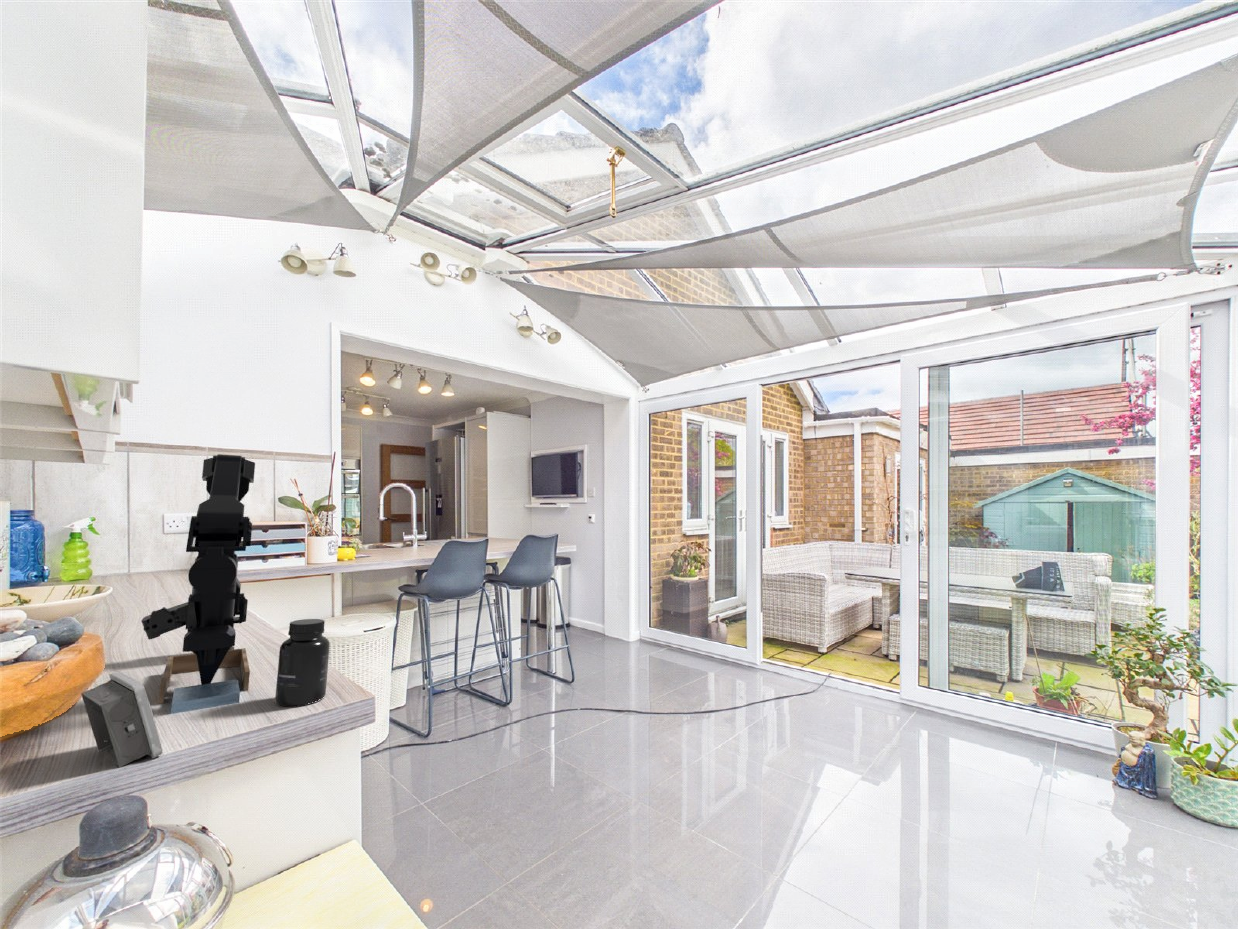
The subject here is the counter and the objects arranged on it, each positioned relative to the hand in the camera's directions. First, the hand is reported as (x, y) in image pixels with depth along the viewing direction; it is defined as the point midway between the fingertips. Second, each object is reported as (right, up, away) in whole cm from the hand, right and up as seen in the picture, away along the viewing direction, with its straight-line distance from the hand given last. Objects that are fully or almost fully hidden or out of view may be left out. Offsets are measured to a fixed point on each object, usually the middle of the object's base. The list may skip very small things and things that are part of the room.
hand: (205, 684), depth 85 cm
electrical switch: (+8, +1, -22) cm, 24 cm away
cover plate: (+3, -1, -4) cm, 5 cm away
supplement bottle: (+17, -1, -3) cm, 17 cm away
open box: (-4, -2, +5) cm, 7 cm away
